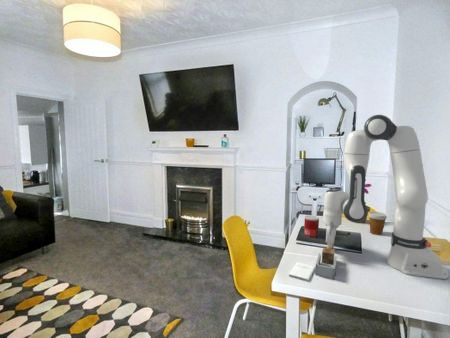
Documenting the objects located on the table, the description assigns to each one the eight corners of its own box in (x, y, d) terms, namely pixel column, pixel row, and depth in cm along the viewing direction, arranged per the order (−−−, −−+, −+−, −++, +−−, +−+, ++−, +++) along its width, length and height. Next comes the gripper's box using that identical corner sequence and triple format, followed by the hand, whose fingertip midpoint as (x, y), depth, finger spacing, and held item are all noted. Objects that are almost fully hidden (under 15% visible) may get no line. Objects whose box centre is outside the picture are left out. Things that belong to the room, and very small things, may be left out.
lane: (336, 266, 119) (336, 256, 119) (334, 279, 109) (334, 269, 108) (318, 262, 123) (319, 253, 122) (315, 274, 112) (315, 264, 112)
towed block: (335, 249, 136) (336, 240, 136) (333, 264, 121) (333, 254, 120) (325, 247, 138) (325, 238, 138) (321, 261, 123) (322, 251, 122)
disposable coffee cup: (368, 234, 156) (369, 215, 155) (366, 229, 165) (367, 210, 163) (386, 237, 153) (388, 217, 151) (383, 231, 162) (385, 212, 160)
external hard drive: (288, 277, 111) (296, 264, 122) (308, 283, 107) (315, 269, 118) (288, 274, 111) (296, 261, 122) (308, 279, 107) (315, 266, 117)
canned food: (319, 238, 151) (319, 219, 150) (304, 237, 153) (305, 218, 151) (317, 233, 159) (318, 215, 157) (303, 232, 160) (304, 214, 159)
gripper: (337, 227, 123) (335, 255, 125) (339, 215, 141) (338, 239, 143) (323, 225, 126) (321, 252, 128) (327, 213, 144) (326, 237, 146)
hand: (330, 245), depth 136 cm, fingers closed on towed block, 3 cm apart
